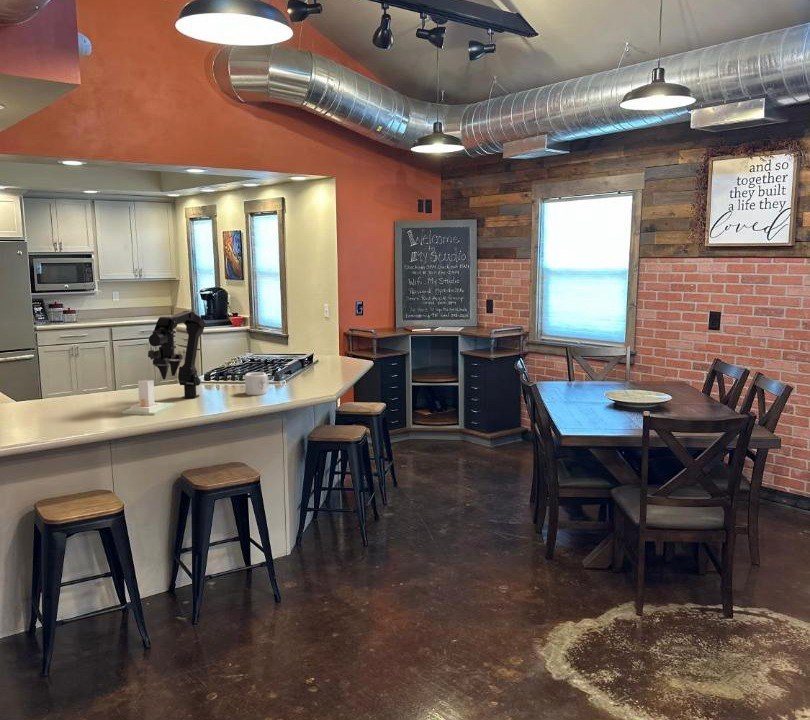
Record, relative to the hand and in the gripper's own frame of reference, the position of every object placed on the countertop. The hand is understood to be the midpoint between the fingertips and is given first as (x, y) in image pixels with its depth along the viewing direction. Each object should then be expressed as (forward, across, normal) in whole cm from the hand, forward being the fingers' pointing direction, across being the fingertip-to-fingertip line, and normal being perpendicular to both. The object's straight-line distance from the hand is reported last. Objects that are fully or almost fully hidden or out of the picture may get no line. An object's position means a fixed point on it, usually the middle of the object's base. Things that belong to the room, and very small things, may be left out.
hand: (168, 377), depth 316 cm
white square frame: (+13, +14, -4) cm, 20 cm away
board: (+13, +10, -5) cm, 17 cm away
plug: (+12, +14, -4) cm, 19 cm away
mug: (+13, -34, +31) cm, 48 cm away
